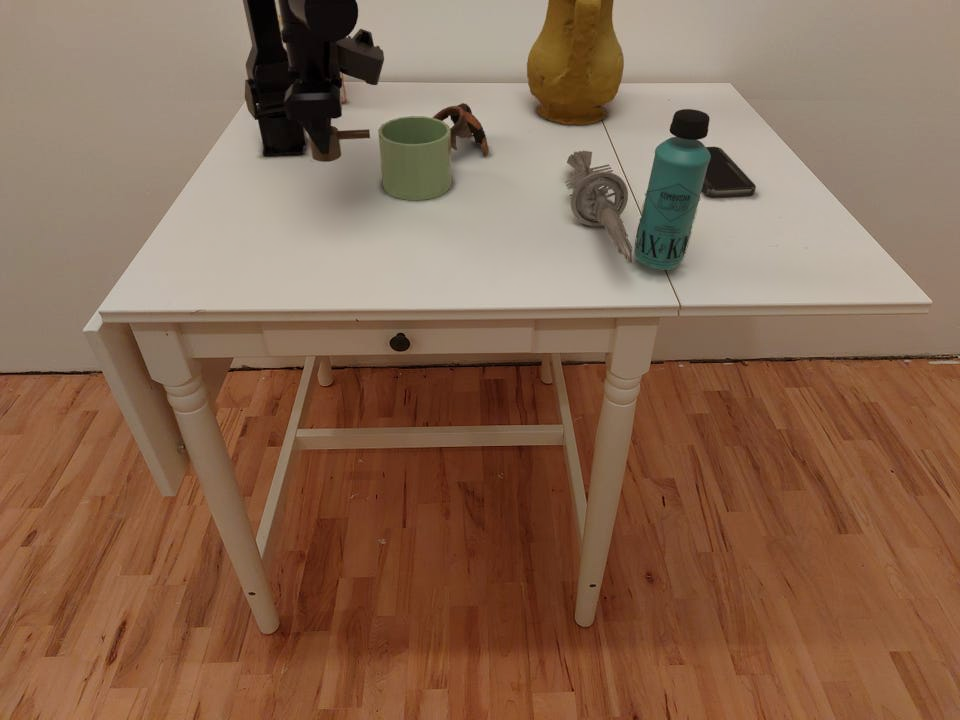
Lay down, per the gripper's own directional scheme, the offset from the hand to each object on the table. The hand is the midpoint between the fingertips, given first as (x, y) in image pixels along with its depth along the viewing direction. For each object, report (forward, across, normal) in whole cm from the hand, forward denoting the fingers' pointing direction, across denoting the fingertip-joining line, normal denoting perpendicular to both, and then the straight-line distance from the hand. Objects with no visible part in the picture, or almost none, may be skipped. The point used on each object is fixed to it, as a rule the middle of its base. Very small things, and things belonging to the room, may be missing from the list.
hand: (325, 146), depth 87 cm
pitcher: (+11, +34, -42) cm, 55 cm away
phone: (+11, +6, -59) cm, 60 cm away
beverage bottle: (+11, -18, -41) cm, 46 cm away
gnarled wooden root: (+11, +20, -20) cm, 31 cm away
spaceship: (+11, -7, -36) cm, 38 cm away
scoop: (+1, 0, -2) cm, 2 cm away
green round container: (+10, +9, -12) cm, 18 cm away
